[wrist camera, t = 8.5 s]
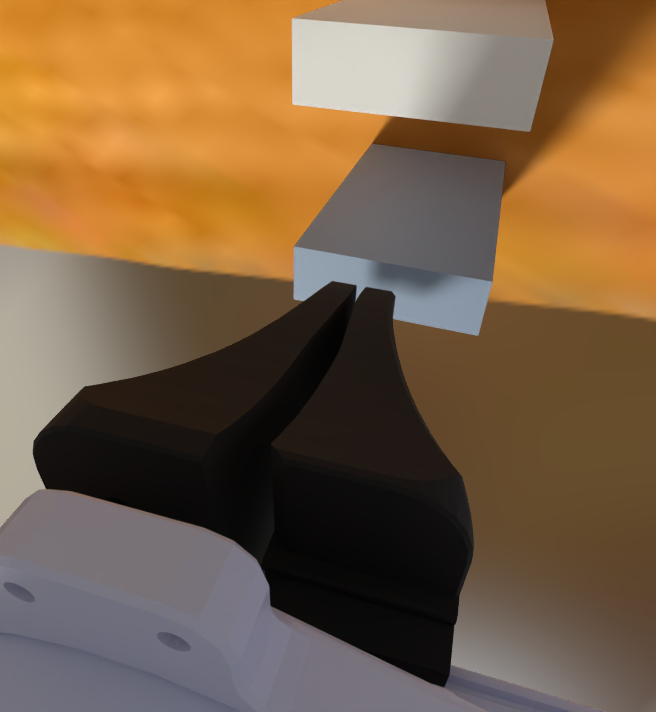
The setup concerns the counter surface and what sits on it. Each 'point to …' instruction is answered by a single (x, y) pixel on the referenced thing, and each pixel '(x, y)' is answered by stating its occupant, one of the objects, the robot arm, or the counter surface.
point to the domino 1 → (425, 59)
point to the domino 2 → (410, 235)
